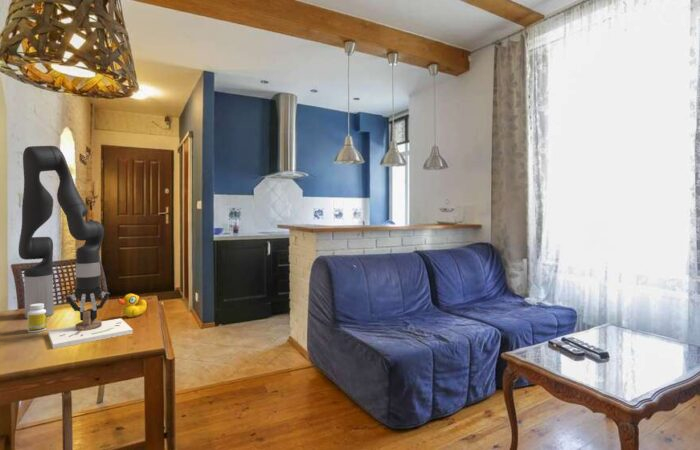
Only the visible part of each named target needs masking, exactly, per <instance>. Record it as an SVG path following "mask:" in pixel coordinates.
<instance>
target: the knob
mask: <svg viewBox="0 0 700 450" xmlns="http://www.w3.org/2000/svg"><path fill="white" fill-rule="evenodd" d="M92 310H93V308H91V307H90V308H87V309H86V310H85V311H84V312H83V321H81V322H78V323H76V324H75V325H74V326H75V329H76V330H90V329H95V328H98V327H100V326H101V325H102V321H103V320H99V319H98V320H97V319H95V320H94V321H92Z"/></svg>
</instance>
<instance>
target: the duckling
mask: <svg viewBox="0 0 700 450" xmlns="http://www.w3.org/2000/svg"><path fill="white" fill-rule="evenodd" d="M139 299H140V296H139V295H137V294H134V293H127V294H125V296H124V297H123V299H121V298H118V299H117V302H118V303H119V305H122V306H123V305H124V307H123V308H122V314H123V315H124V316H126V317H128V318H134V317H138V316H140V315H142V314H143V313H145V311H146V310H147V301H146V300H145V299H140V300H139Z"/></svg>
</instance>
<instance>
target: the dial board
mask: <svg viewBox="0 0 700 450" xmlns="http://www.w3.org/2000/svg"><path fill="white" fill-rule="evenodd" d="M101 321H102V325H101V326H100V327H98V328H95V329H90V330H76V329H75V325H72V326H67V327H60V328H53V329H49V330H47V336H48V338H49V341H50V344H51V347H52V349H54V350H55V349H59V348H65V347H69V346H74V345H80V344H86V343H90V342H95V341H101V340H105V339H112V338H115V337H120V336H126V335H130V334H131V335H132V334H133V333H134V332H133V331H134V330H133V328H132V327H131V326H130V325H129V324H128V323H127V322H126V321H125V320H123V318H120V317H119V318H115V319H108V320H101ZM111 337H112V338H111Z"/></svg>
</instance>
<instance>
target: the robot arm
mask: <svg viewBox="0 0 700 450" xmlns="http://www.w3.org/2000/svg"><path fill="white" fill-rule="evenodd" d="M22 168H23V194H22V195H23V197H22V206H21V230H20V234H19V241H18V242H19V243H18V255H19V258H20V259H22V260H24V261H25V260H41V261H40V262H39V263H38V264H35V265H32V266H31V267H26V269H24V270H23V271H24V272H23V281H24V282H23V283H24V285H23V286H24V287H23V289H24V290H23V291H24V318H26V319H28V316H27V315H28V312H29V311H31V309H30V305H32V304H37V303H43V304H44V308H43V309H45V310H46V318H47V317H49V316H52V315H54V281H53V280H54V279H53V278H54V276H53V274H54V273H53V271H54V269H53V267H54V265H53V259H54V256H53V254H54V242H53V239H52V238H51V237H50V236H34V235H35V233H36V231H38V229H40V228H41V227H42V226H43V225H44V224H45V223H46V222H48V221H49V219H50V218H51V217H52V215H53V211H54V199H53V196H52V195H51V193H50V191H48V189H47V188H45V186H44V184H42V182H41V179H40V174H41V172H50V171H51V172H52V171H55V172H56V174H57V175H58V178H59V179H58V180H59V181H58V188H57V193H56V198H57V203H58V204H59V207H60V208H61V209H62V211H63V214H64V215H65V218H66V223H67V226H68V227H67V228H68V231H69V232H68V233H69V234H70V235H71V237H72V238H73V239H75V240H76V241H80V242H81V241H85V242H84V245H81V246H79V247H78V248H77V249H76V252H75V256H76V258H75V259H76V260H75V261H76V264H75V291H74V293H73V294H69V295H67V296H66V301H67V302H68V303H69V305H70V306H71V308H72V310H73V311H75V312H79V319H80V321H81V322H83V312H84V311H86V310H85V309H86V303H88V302H89V303H91V307H92V308H93V310H92V321H94V320H97V317H98V310H99V309H102V308H103V307H104V305H105V303H106V302H107V300H108V299H109V298H108V297H109V296H110V292H108V291H107V292H105V291H104V290H103V289H102V286H101V285H102V284H101V271H102V270H101V263H100V250H101V247H102V244H103V239H104V237H105V236H104V235H105V228H104V225H103V224H102V223H101V222H100V221H97V220H85V219H84V217H86V216H87V215H88V214H89V208H88V207H87V205H86V203H85V202H84V200H83V198H82V197H81V194H80V193H79V191H78V189H77V187H76V183H75V181H74V178H73V175H72V172H71V170H70V167H69V166H68V163H67V160H66V158H65V155H64V154H63V152H62V150H61V149H60V148H59V147H58V146H55V145H35V146H33V145H32V146H27V147H25V149H24V150H23V155H22ZM100 296H101V301H100V303H99V304H98V303H97V299H98V298H99V297H100ZM75 298H77V299H78V300H79V301H80V306H79V305H78V304H77V303H76V301H75V300H76V299H75Z"/></svg>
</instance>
